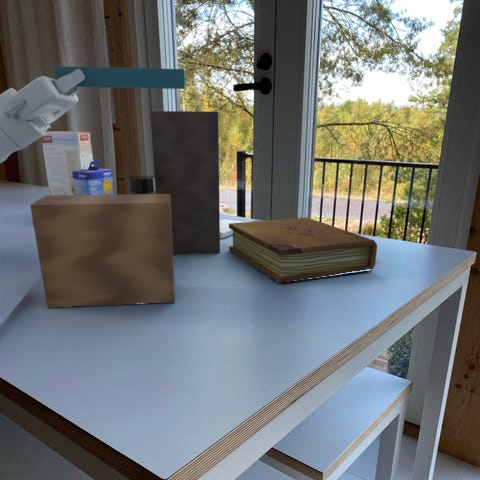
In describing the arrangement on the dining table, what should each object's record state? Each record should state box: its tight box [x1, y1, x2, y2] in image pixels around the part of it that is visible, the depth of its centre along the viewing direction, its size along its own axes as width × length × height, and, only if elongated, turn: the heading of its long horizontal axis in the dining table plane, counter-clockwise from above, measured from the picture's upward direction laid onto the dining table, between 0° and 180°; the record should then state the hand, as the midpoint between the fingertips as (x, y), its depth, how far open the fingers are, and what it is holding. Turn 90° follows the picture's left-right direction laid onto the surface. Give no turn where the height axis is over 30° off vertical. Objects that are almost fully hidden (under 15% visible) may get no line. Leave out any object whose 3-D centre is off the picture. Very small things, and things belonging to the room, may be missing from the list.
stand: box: [150, 110, 221, 255], centre depth 93 cm, size 12×8×26 cm, turn 97°
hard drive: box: [220, 218, 243, 240], centre depth 112 cm, size 2×8×12 cm
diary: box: [228, 216, 378, 283], centre depth 89 cm, size 23×19×6 cm
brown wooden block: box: [29, 193, 176, 309], centre depth 69 cm, size 18×8×14 cm, turn 97°
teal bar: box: [54, 65, 186, 90], centre depth 84 cm, size 22×3×3 cm, turn 97°
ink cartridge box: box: [72, 160, 114, 195], centre depth 126 cm, size 10×6×14 cm, turn 154°
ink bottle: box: [127, 175, 156, 194], centre depth 113 cm, size 10×9×12 cm
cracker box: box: [40, 130, 94, 195], centre depth 144 cm, size 14×6×21 cm, turn 66°
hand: (85, 74), depth 83 cm, fingers closed on teal bar, 3 cm apart
